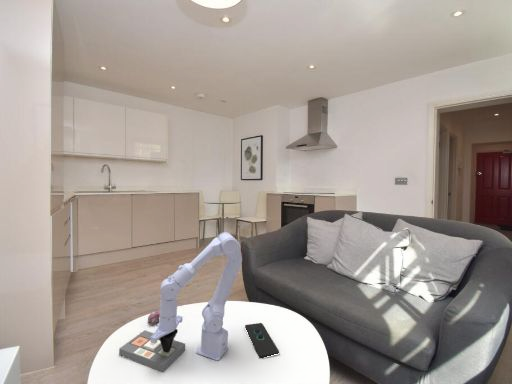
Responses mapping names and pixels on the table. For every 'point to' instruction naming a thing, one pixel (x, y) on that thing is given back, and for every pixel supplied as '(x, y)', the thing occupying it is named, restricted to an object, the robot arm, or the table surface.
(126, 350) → the keypad
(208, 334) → the robot arm
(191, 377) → the table surface
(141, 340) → the terracotta key
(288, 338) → the table surface
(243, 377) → the table surface
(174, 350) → the sage key
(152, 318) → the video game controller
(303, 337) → the table surface
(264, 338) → the smart home device
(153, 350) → the white key
